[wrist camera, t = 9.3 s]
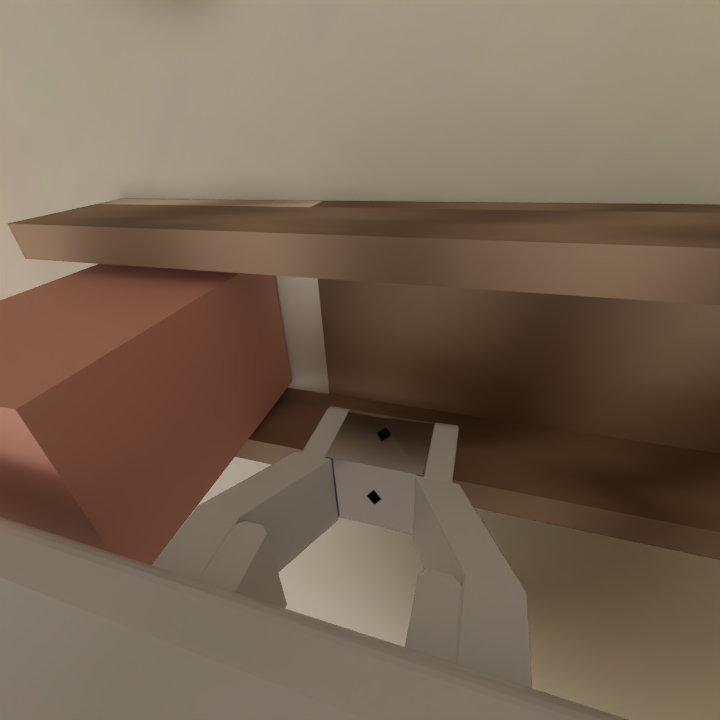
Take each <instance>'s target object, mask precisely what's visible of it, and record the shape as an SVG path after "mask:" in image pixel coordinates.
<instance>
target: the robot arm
mask: <svg viewBox="0 0 720 720" xmlns="http://www.w3.org/2000/svg"><path fill="white" fill-rule="evenodd" d="M458 430H459V428H458V426H456V425H449V424H442V423H431V422H425V421H418V420H411V419H405V418H398V417H392V416H386V415H381V414H375V413H370V412H364V411H358V410H353V409H351V410H350V409H345V408H340V407H334V406H331V407H330V408H328V409H327V410H326V412H325V414H324V415H323V417H322V419H321V420H320V422H319V424H318V426H317V427H316V429H315V431H314V432H313V434H312V436H311V437H310V439H309V441H308V442H307V444H306V446H305V447H304V449H303V451H302V452H301V453H299V452H294V453H292V454H291V455H289V456H287V457H285V458H283V459H282V460H280V461H278V462H276V463H274V464H273V465H271V466H269V467H267V468H265V469H264V470H262V471H260V472H258V473H256V474H255V475H253V476H251V477H249V478H247V479H246V480H244V481H242V482H240V483H238V484H237V485H235V486H233V487H231V488H229V489H228V490H226V491H224V492H222V493H220V494H219V495H217V496H215V497H213V498H211V499H210V500H208V501H206V502H204V503H202V504H201V505H199V506H197V508H196V509H195V510H194V512H193V513H192V514H191V515H190V517H189V518H188V519H187V521H186V522H185V523H184V524H183V526H182V527H181V528H180V530H179V531H178V532H177V533H176V535H175V536H174V537H173V538H172V540H171V541H170V542H169V544H168V545H167V546H166V547H165V549H164V550H163V551H162V553H161V554H160V555H159V556H158V558H157V559H156V560H155V562H154V563H153V564H152V565H149V564H146V563H143V562H140V561H136V560H133V559H130V558H127V557H124V556H121V555H118V554H115V553H112V552H109V551H105V550H102V549H99V548H96V547H93V546H90V545H87V544H84V543H81V542H78V541H75V540H71V539H68V538H65V537H62V536H59V535H56V534H53V533H50V532H47V531H44V530H41V529H38V528H35V527H31V526H28V525H25V524H22V523H19V522H16V521H13V520H10V519H7V518H4V517H1V516H0V720H628V719H625V718H622V717H618V716H615V715H612V714H609V713H606V712H603V711H600V710H597V709H594V708H591V707H588V706H584V705H581V704H578V703H575V702H572V701H569V700H566V699H563V698H560V697H557V696H554V695H551V694H547V693H544V692H541V691H538V690H535V689H532V676H531V660H530V644H529V628H528V611H527V595H526V591H525V590H524V588H523V587H522V585H521V583H520V582H519V580H518V578H517V577H516V575H515V574H514V572H513V570H512V569H511V567H510V566H509V564H508V562H507V561H506V559H505V557H504V556H503V554H502V553H501V551H500V549H499V548H498V546H497V544H496V543H495V541H494V540H493V538H492V536H491V535H490V533H489V532H488V530H487V528H486V527H485V525H484V523H483V522H482V520H481V519H480V517H479V515H478V514H477V512H476V511H475V509H474V507H473V506H472V504H471V502H470V501H469V499H468V498H467V496H466V494H465V493H464V491H463V489H462V488H461V486H460V485H459V484H456V483H452V482H453V474H454V465H455V456H456V448H457V439H458ZM338 517H340V518H345V519H349V520H354V521H359V522H364V523H368V524H373V525H377V526H381V527H385V528H388V529H392V530H396V531H400V532H403V533H407V534H411V535H413V539H414V541H415V544H416V547H417V550H418V553H419V555H420V558H421V561H422V564H423V567H424V569H425V571H423V572H422V573H420V574H419V576H418V581H417V586H416V592H415V597H414V602H413V607H412V613H411V618H410V623H409V628H408V634H407V639H406V644H405V647H402V646H399V645H396V644H393V643H390V642H387V641H384V640H381V639H378V638H375V637H372V636H368V635H365V634H362V633H359V632H356V631H353V630H350V629H347V628H344V627H341V626H338V625H334V624H331V623H328V622H325V621H322V620H319V619H316V618H313V617H310V616H307V615H304V614H300V613H297V612H294V611H291V610H288V609H285V607H286V605H287V603H286V599H285V596H284V592H283V589H282V585H281V582H280V578H279V574H278V572H279V571H281V570H282V569H283V568H284V567H285V566H286V565H287V564H288V563H290V562H291V561H292V560H293V559H294V558H295V557H296V556H298V555H299V554H300V553H301V552H302V551H303V550H304V549H305V548H307V547H308V546H309V545H310V544H311V543H312V542H313V541H315V540H316V539H317V538H318V537H319V536H320V535H321V534H323V533H324V532H325V531H326V530H327V529H328V528H329V527H330V526H332V525H333V524H334V523H335V522H336V521H337V520H338Z"/></svg>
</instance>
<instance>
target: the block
mask: <svg viewBox="0 0 720 720" xmlns="http://www.w3.org/2000/svg"><path fill="white" fill-rule="evenodd" d="M291 382H292V380H291V374H290V367H289V361H288V355H287V349H286V343H285V337H284V331H283V325H282V319H281V313H280V307H279V301H278V294H277V288H276V282H275V276H274V275H261V274H246V273H231V272H217V271H202V270H187V269H172V268H157V267H142V266H127V265H113V264H98V265H95V266H92V267H90V268H87V269H84V270H81V271H79V272H76V273H73V274H71V275H68V276H65V277H63V278H60V279H57V280H55V281H52V282H49V283H47V284H44V285H41V286H38V287H36V288H33V289H30V290H28V291H25V292H22V293H20V294H17V295H14V296H12V297H9V298H6V299H4V300H1V301H0V516H1V517H4V518H7V519H10V520H13V521H16V522H19V523H22V524H25V525H28V526H31V527H35V528H38V529H41V530H44V531H47V532H50V533H53V534H56V535H59V536H62V537H65V538H68V539H71V540H75V541H78V542H81V543H84V544H87V545H90V546H93V547H96V548H99V549H102V550H105V551H109V552H112V553H115V554H118V555H121V556H124V557H127V558H130V559H133V560H136V561H140V562H143V563H146V564H149V565H152V564H153V563H154V561H155V560H156V559H157V558H158V556H159V555H160V554H161V552H162V551H163V550H164V548H165V547H166V546H167V544H168V543H169V542H170V541H171V539H172V538H173V537H174V535H175V534H176V533H177V531H178V530H179V529H180V527H181V526H182V525H183V524H184V522H185V521H186V520H187V518H188V517H189V516H190V514H191V513H192V512H193V510H194V509H195V508H196V507H197V505H198V504H199V503H200V501H201V500H202V499H203V497H204V496H205V495H206V493H207V492H208V491H209V490H210V488H211V487H212V486H213V484H214V483H215V482H216V480H217V479H218V478H219V476H220V475H221V474H222V473H223V471H224V470H225V469H226V467H227V466H228V465H229V463H230V462H231V461H232V459H233V458H234V457H235V456H236V454H237V453H238V452H239V450H240V449H241V448H242V446H243V445H244V444H245V442H246V441H247V440H248V439H249V437H250V436H251V435H252V433H253V432H254V431H255V429H256V428H257V427H258V425H259V424H260V423H261V422H262V420H263V419H264V418H265V416H266V415H267V414H268V412H269V411H270V410H271V408H272V407H273V406H274V405H275V403H276V402H277V401H278V399H279V398H280V397H281V395H282V394H283V393H284V392H285V390H286V389H287V388H288V386H289V385H290V384H291Z"/></svg>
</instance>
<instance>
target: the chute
mask: <svg viewBox="0 0 720 720" xmlns="http://www.w3.org/2000/svg"><path fill="white" fill-rule="evenodd" d="M8 225H9V227H10V229H11V231H12V233H13V235H14V237H15V239H16V241H17V243H18V245H19V247H20V249H21V251H22V253H23V255H24V257H25V259H38V260H53V261H68V262H83V263H98V264H113V265H127V266H142V267H157V268H172V269H187V270H202V271H217V272H231V273H246V274H261V275H274V276H275V282H276V288H277V294H278V301H279V307H280V313H281V319H282V325H283V331H284V337H285V343H286V349H287V355H288V361H289V367H290V374H291V380H292V382H291V384H290V385H289V386H288V388H287V389H286V390H285V392H284V393H283V394H282V395H281V397H280V398H279V399H278V401H277V402H276V403H275V405H274V406H273V407H272V408H271V410H270V411H269V412H268V414H267V415H266V416H265V418H264V419H263V420H262V422H261V423H260V424H259V425H258V427H257V428H256V429H255V431H254V432H253V433H252V435H251V436H250V437H249V439H248V440H247V441H246V442H245V444H244V445H243V446H242V448H241V449H240V450H239V452H238V453H237V454H236V456H235V457H240V458H244V459H249V460H254V461H259V462H263V463H268V464H274V463H276V462H278V461H280V460H282V459H283V458H285V457H287V456H289V455H291V454H292V453H294V452H299V453H301V452H302V451H303V449H304V447H305V446H306V444H307V442H308V441H309V439H310V437H311V436H312V434H313V432H314V431H315V429H316V427H317V426H318V424H319V422H320V420H321V419H322V417H323V415H324V414H325V412H326V410H327V409H328V408H330V407H331V406H334V407H340V408H345V409H350V410H351V409H353V410H358V411H364V412H370V413H375V414H381V415H386V416H392V417H398V418H405V419H411V420H418V421H425V422H431V423H442V424H449V425H456V426H458V428H459V430H458V439H457V448H456V456H455V465H454V474H453V482H452V483H456V484H459V485H460V486H461V488H462V489H463V491H464V493H465V494H466V496H467V498H468V499H469V501H470V502H471V504H472V506H473V507H474V508H479V509H484V510H488V511H493V512H498V513H502V514H507V515H512V516H516V517H521V518H526V519H530V520H535V521H540V522H545V523H549V524H554V525H559V526H563V527H568V528H573V529H577V530H582V531H587V532H591V533H596V534H601V535H606V536H610V537H615V538H620V539H624V540H629V541H634V542H638V543H643V544H648V545H652V546H657V547H662V548H666V549H671V550H676V551H681V552H685V553H690V554H695V555H699V556H704V557H709V558H713V559H718V560H720V205H691V204H588V203H484V202H380V201H277V200H173V199H118V200H113V201H109V202H104V203H100V204H95V205H90V206H86V207H81V208H77V209H72V210H68V211H63V212H59V213H54V214H49V215H45V216H40V217H36V218H31V219H27V220H22V221H18V222H13V223H8Z"/></svg>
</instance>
